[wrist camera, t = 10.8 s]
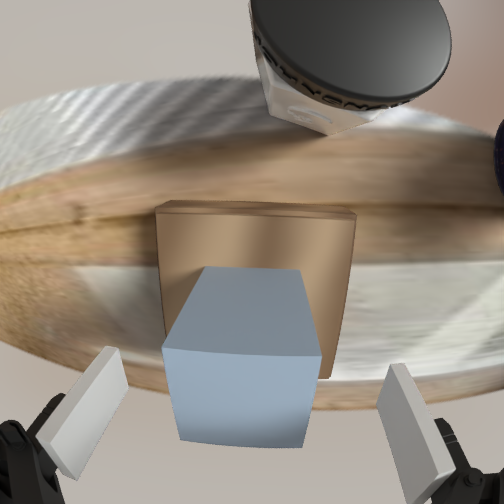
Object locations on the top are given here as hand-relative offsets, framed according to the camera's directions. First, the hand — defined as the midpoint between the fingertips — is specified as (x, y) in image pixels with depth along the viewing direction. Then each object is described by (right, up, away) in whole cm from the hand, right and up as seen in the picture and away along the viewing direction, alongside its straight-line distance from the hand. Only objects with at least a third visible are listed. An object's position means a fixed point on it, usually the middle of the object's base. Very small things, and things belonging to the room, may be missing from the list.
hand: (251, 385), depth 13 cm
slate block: (0, +2, +7) cm, 7 cm away
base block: (0, +4, +11) cm, 11 cm away
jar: (+5, +19, +6) cm, 20 cm away
